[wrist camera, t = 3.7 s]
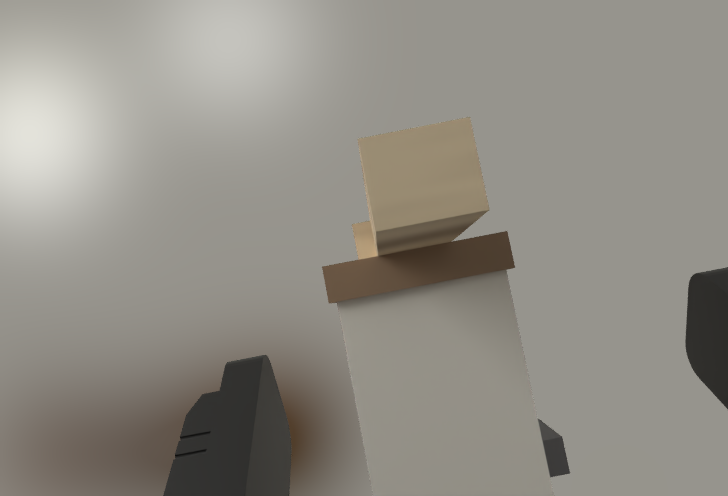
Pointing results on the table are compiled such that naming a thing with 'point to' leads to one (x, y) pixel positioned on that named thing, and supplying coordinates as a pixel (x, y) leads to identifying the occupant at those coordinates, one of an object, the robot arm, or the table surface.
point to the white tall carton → (443, 373)
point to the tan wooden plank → (419, 187)
